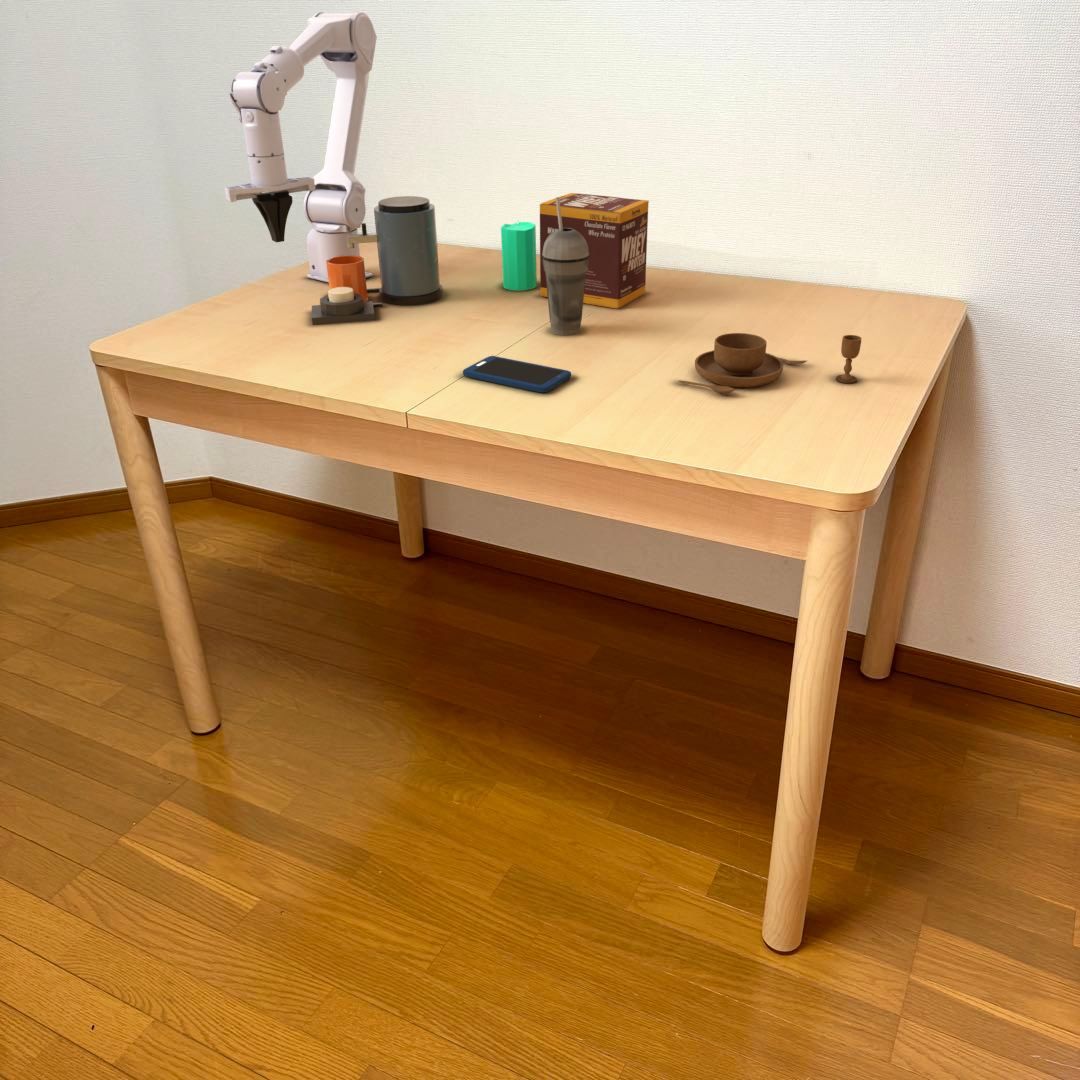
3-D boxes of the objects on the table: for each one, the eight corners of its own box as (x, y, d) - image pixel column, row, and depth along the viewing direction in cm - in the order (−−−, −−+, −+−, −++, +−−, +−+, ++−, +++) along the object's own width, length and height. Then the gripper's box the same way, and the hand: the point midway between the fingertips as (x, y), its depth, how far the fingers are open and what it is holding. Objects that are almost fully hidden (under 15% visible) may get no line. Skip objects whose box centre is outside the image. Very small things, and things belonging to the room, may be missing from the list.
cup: (323, 302, 173) (318, 261, 170) (349, 293, 178) (344, 253, 174) (349, 308, 170) (345, 266, 167) (375, 299, 175) (371, 258, 171)
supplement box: (619, 309, 167) (621, 211, 159) (539, 296, 174) (537, 202, 167) (647, 293, 175) (650, 199, 167) (569, 281, 182) (569, 191, 174)
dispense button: (329, 305, 163) (328, 294, 162) (329, 298, 167) (327, 287, 166) (354, 303, 164) (353, 292, 163) (353, 296, 167) (352, 286, 166)
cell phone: (490, 359, 147) (490, 354, 146) (573, 376, 140) (573, 371, 140) (460, 375, 141) (460, 370, 141) (545, 393, 135) (545, 388, 134)
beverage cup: (585, 339, 154) (585, 203, 144) (538, 337, 156) (535, 201, 146) (592, 324, 160) (593, 193, 151) (547, 322, 162) (545, 191, 152)
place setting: (733, 348, 149) (736, 309, 146) (862, 378, 138) (868, 336, 135) (667, 383, 138) (669, 341, 135) (802, 418, 127) (808, 373, 124)
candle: (538, 281, 183) (537, 212, 177) (534, 290, 177) (533, 220, 171) (505, 281, 183) (502, 212, 177) (500, 290, 178) (498, 220, 172)
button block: (312, 325, 163) (310, 306, 161) (312, 312, 169) (310, 294, 167) (375, 320, 164) (373, 302, 163) (373, 308, 170) (371, 290, 169)
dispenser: (330, 311, 169) (318, 212, 161) (330, 293, 178) (318, 199, 170) (446, 303, 172) (439, 205, 164) (439, 286, 181) (433, 193, 173)
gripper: (298, 146, 169) (309, 230, 175) (212, 156, 161) (227, 242, 168) (315, 151, 164) (326, 237, 170) (228, 162, 156) (242, 251, 163)
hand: (278, 240), depth 169 cm, fingers closed
